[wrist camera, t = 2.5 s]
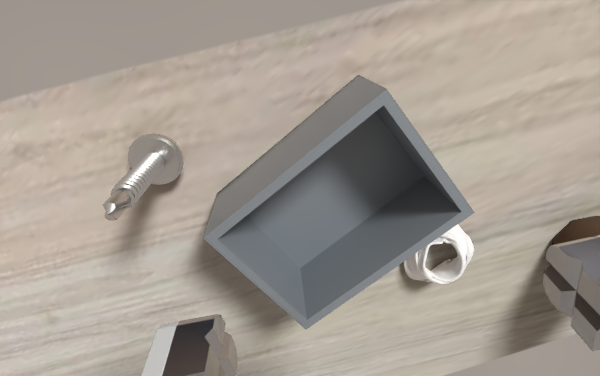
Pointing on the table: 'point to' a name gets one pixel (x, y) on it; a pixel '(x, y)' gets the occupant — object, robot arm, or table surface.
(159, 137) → the screw
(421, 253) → the white crumpled ring
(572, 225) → the beer bottle
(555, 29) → the table surface
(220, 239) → the tote
